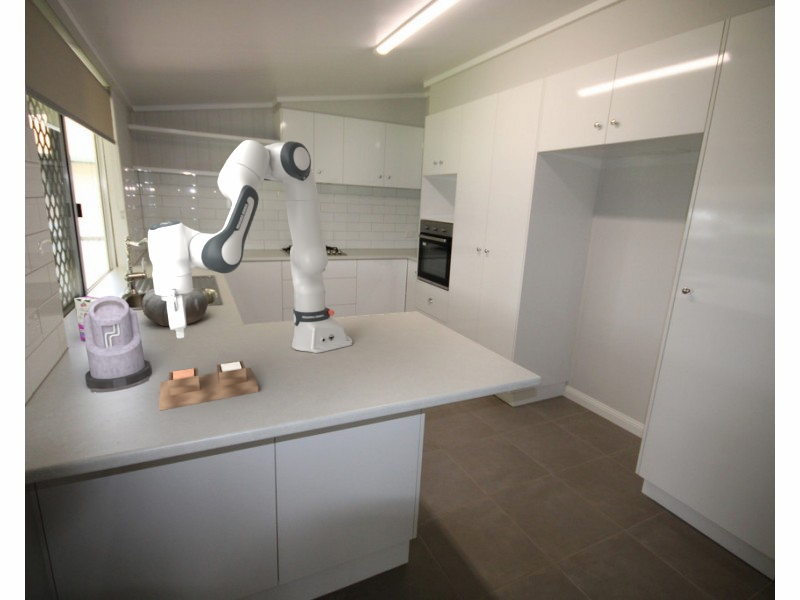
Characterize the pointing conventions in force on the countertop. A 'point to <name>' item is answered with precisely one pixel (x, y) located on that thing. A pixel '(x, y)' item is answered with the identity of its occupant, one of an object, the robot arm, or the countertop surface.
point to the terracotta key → (183, 374)
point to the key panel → (206, 387)
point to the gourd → (158, 307)
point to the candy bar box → (83, 311)
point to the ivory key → (230, 366)
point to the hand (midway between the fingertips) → (180, 336)
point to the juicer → (114, 346)
